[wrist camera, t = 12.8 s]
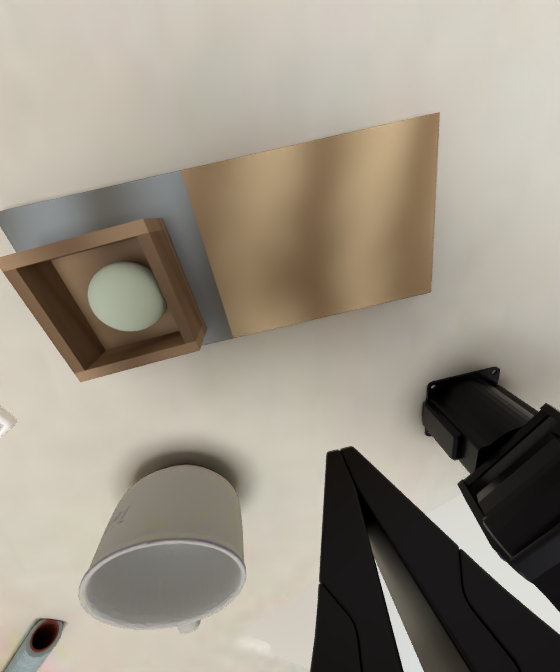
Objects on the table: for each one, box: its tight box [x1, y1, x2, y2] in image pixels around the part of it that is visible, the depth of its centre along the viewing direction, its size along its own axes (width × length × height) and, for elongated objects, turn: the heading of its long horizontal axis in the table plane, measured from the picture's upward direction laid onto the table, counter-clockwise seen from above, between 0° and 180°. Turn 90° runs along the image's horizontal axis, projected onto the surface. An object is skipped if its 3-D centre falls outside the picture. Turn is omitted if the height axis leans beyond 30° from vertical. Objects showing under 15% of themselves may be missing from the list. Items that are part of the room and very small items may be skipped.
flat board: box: [0, 112, 440, 346], centre depth 16 cm, size 24×10×1 cm, turn 102°
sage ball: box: [88, 262, 167, 331], centre depth 14 cm, size 4×4×4 cm
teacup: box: [78, 465, 246, 634], centre depth 22 cm, size 14×11×8 cm
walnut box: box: [0, 218, 207, 382], centre depth 15 cm, size 7×7×3 cm
